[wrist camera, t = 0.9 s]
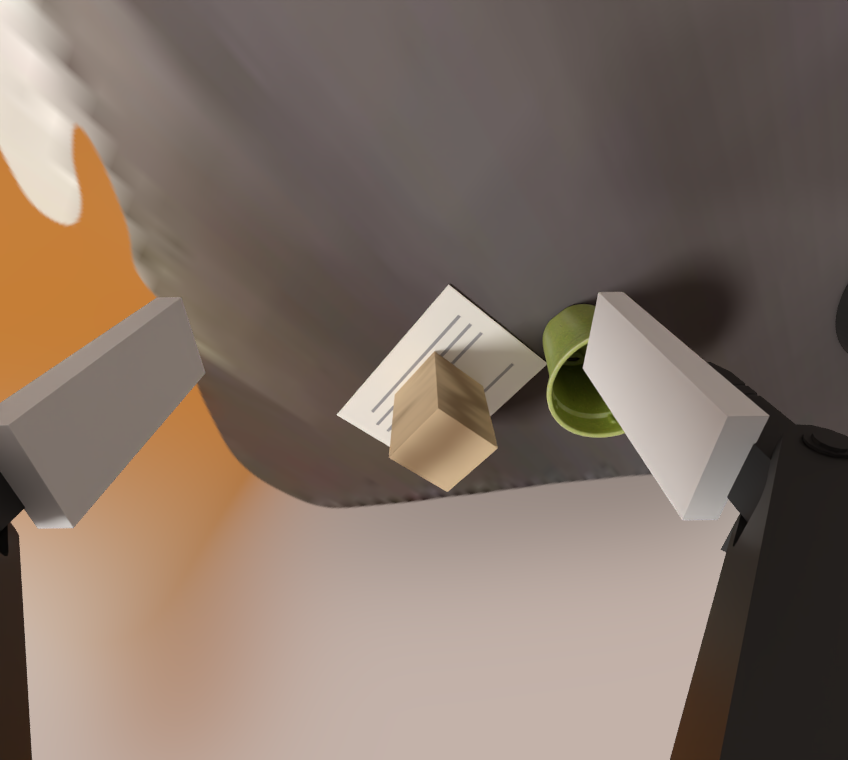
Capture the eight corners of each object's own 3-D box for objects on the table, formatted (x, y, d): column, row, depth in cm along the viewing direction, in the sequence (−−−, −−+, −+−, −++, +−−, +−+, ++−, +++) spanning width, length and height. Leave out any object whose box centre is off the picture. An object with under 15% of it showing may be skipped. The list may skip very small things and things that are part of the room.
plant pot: (617, 379, 41) (661, 437, 33) (518, 381, 41) (540, 440, 33) (641, 283, 36) (698, 326, 29) (528, 286, 36) (556, 330, 29)
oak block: (483, 386, 41) (497, 448, 33) (442, 425, 43) (447, 491, 36) (434, 351, 39) (438, 408, 31) (394, 394, 41) (388, 457, 34)
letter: (546, 362, 40) (547, 363, 40) (430, 470, 47) (430, 471, 46) (448, 284, 36) (448, 285, 36) (337, 414, 43) (336, 415, 42)
